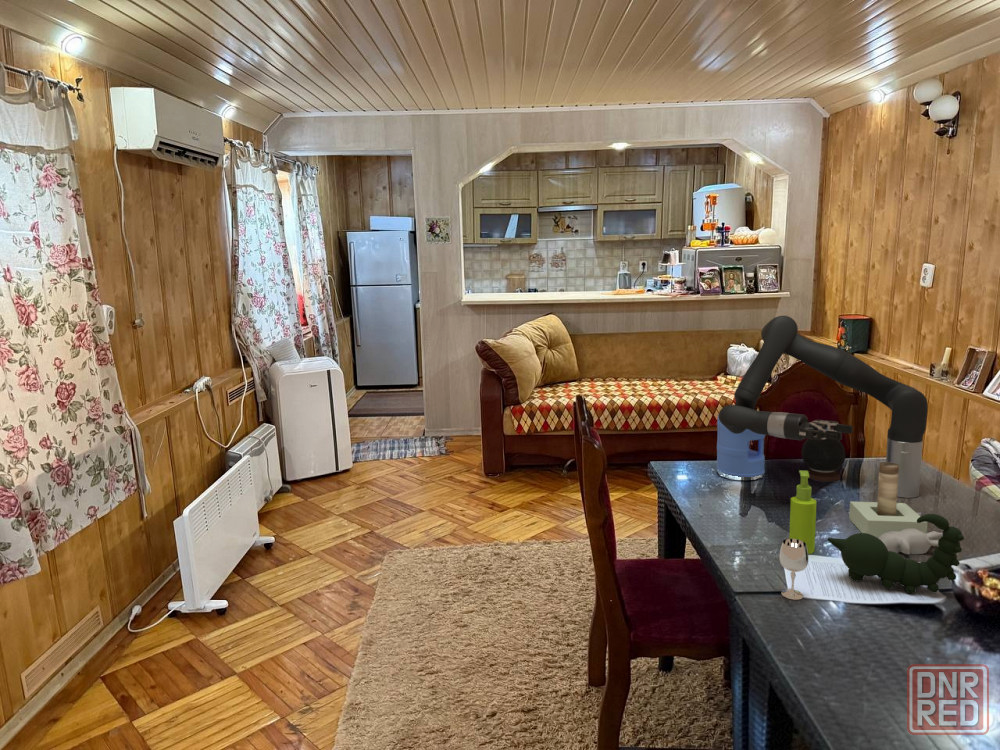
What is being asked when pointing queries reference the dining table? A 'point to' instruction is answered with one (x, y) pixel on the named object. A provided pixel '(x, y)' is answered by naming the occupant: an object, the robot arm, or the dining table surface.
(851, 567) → the toy figurine
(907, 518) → the socket block
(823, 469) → the black ball on pedestal
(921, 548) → the bunny figurine
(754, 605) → the dining table surface
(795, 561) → the wineglass
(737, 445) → the water jug
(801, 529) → the soap dispenser
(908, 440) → the robot arm
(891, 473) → the peg
